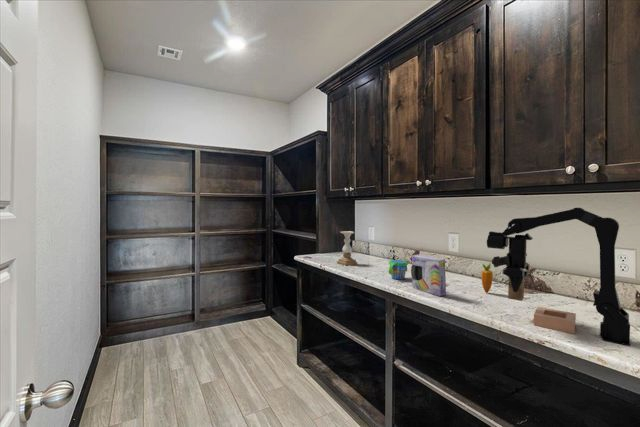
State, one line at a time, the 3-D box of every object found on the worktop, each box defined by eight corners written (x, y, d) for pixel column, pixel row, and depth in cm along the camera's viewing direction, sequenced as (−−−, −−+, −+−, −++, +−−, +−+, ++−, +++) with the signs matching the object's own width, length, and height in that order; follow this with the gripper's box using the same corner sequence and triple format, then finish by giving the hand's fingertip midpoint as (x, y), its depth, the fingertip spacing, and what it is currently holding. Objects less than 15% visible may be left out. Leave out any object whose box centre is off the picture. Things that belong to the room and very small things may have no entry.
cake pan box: (410, 287, 163) (410, 254, 163) (417, 286, 166) (417, 253, 165) (439, 297, 146) (439, 260, 146) (446, 296, 149) (447, 259, 148)
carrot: (480, 293, 153) (481, 263, 153) (481, 291, 158) (482, 261, 157) (491, 295, 151) (492, 264, 150) (492, 292, 155) (493, 262, 154)
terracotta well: (575, 324, 114) (575, 313, 114) (574, 333, 105) (574, 322, 105) (537, 316, 121) (537, 306, 121) (533, 325, 113) (533, 314, 113)
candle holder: (357, 264, 226) (357, 232, 225) (345, 266, 220) (345, 232, 219) (348, 262, 235) (348, 230, 235) (336, 263, 229) (336, 231, 229)
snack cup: (399, 275, 192) (400, 258, 192) (413, 278, 184) (414, 261, 183) (382, 278, 183) (382, 261, 183) (395, 282, 175) (396, 264, 174)
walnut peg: (523, 298, 120) (524, 272, 120) (521, 300, 117) (522, 274, 117) (510, 296, 123) (511, 271, 123) (508, 298, 120) (508, 272, 120)
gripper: (499, 246, 132) (498, 282, 132) (488, 250, 118) (487, 291, 118) (530, 249, 125) (529, 287, 125) (522, 254, 111) (521, 297, 111)
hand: (516, 290), depth 120 cm, fingers closed on walnut peg, 4 cm apart
